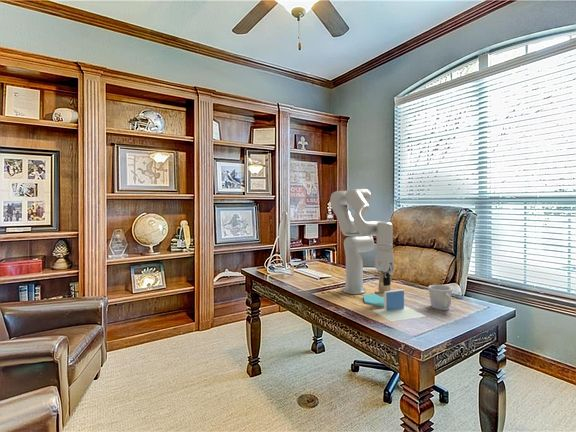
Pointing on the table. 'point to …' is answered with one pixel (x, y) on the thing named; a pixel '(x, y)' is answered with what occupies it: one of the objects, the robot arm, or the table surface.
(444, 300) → the mug
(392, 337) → the table surface
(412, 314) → the board
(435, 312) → the table surface
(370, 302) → the plaque
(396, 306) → the tile
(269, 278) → the table surface
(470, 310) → the table surface
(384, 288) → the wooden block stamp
